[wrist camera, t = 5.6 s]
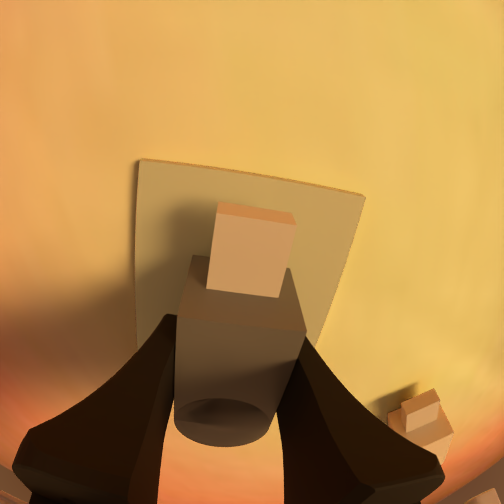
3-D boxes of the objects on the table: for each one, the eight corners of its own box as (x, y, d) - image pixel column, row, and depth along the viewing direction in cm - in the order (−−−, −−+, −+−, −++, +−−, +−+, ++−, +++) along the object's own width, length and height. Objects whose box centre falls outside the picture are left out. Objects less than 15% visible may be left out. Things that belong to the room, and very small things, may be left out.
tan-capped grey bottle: (255, 388, 15) (259, 449, 12) (182, 380, 14) (173, 441, 11) (305, 205, 11) (333, 254, 8) (200, 189, 10) (183, 232, 7)
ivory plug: (427, 435, 21) (441, 468, 17) (389, 451, 21) (400, 485, 18) (436, 372, 17) (459, 414, 13) (386, 394, 17) (404, 439, 14)
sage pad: (291, 393, 16) (292, 399, 16) (141, 377, 15) (139, 382, 15) (361, 194, 12) (365, 197, 11) (142, 158, 11) (139, 160, 10)
